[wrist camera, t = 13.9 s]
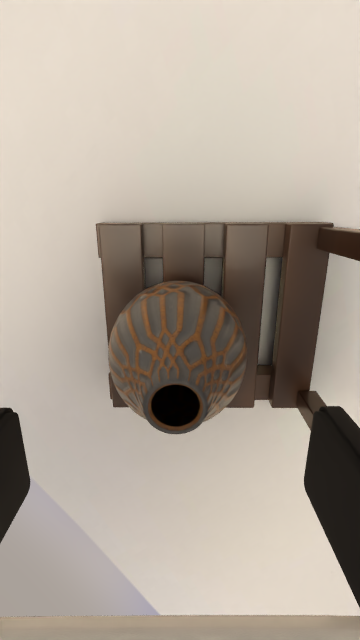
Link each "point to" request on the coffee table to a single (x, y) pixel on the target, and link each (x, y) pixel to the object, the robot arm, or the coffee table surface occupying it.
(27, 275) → the coffee table surface
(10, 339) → the coffee table surface
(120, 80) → the coffee table surface
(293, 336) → the rack
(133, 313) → the vase
